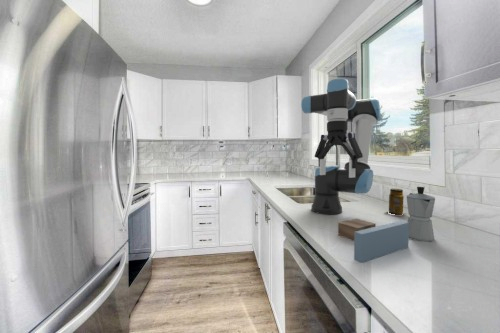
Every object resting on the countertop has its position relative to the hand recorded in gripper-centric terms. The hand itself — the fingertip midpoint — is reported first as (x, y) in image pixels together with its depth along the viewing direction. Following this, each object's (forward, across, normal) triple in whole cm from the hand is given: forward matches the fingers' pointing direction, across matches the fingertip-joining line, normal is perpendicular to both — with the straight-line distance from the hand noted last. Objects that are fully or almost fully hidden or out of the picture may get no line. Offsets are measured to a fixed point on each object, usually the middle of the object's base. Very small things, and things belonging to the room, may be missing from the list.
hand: (336, 176), depth 95 cm
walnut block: (+21, +9, 0) cm, 23 cm away
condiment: (+21, +1, +43) cm, 48 cm away
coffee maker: (+21, +22, +18) cm, 35 cm away
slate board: (+21, +22, -7) cm, 32 cm away
